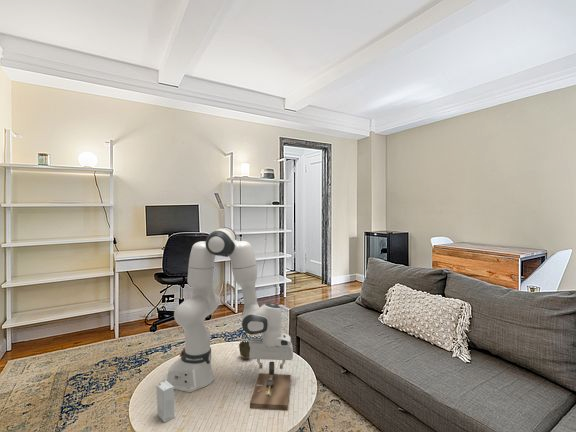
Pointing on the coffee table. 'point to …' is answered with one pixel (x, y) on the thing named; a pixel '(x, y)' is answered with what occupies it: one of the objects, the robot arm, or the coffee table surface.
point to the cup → (244, 349)
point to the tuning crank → (271, 372)
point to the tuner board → (271, 392)
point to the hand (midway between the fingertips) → (271, 368)
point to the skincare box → (165, 401)
